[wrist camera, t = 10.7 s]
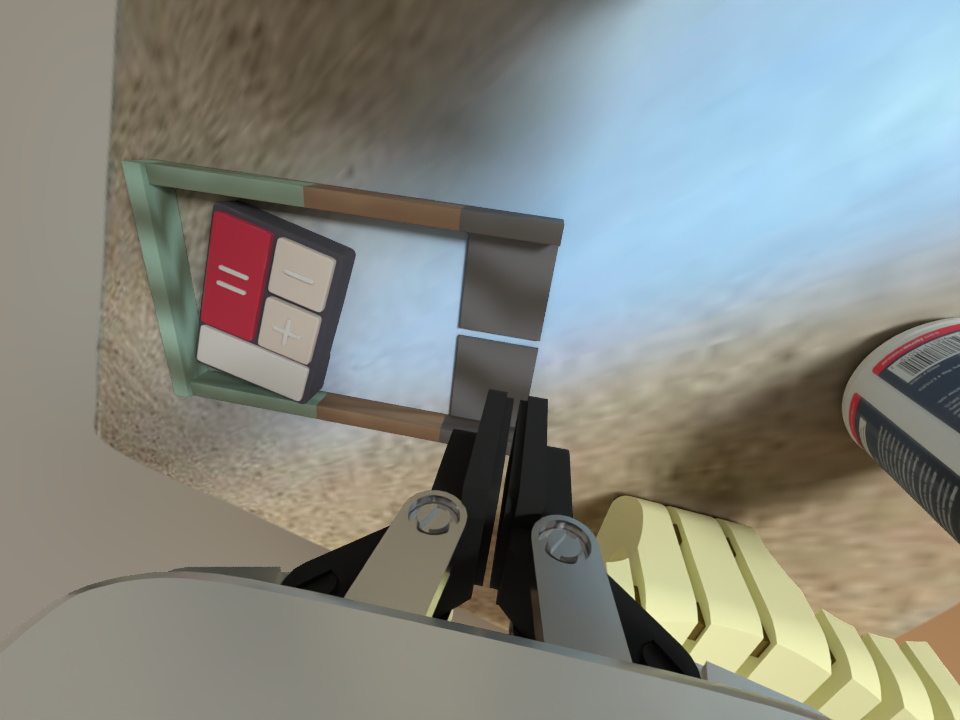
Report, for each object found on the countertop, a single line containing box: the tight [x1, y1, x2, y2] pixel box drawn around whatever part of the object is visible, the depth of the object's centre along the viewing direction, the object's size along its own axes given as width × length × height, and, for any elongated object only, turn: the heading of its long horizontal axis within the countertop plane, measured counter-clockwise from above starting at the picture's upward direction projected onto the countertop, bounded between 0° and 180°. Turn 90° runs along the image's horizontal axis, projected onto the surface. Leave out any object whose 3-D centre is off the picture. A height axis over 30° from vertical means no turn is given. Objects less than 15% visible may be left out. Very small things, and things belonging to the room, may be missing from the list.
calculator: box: [195, 200, 356, 404], centre depth 39 cm, size 11×4×15 cm
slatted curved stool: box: [596, 496, 960, 720], centre depth 39 cm, size 30×16×18 cm, turn 79°
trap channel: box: [121, 159, 564, 456], centre depth 38 cm, size 21×34×3 cm, turn 83°
